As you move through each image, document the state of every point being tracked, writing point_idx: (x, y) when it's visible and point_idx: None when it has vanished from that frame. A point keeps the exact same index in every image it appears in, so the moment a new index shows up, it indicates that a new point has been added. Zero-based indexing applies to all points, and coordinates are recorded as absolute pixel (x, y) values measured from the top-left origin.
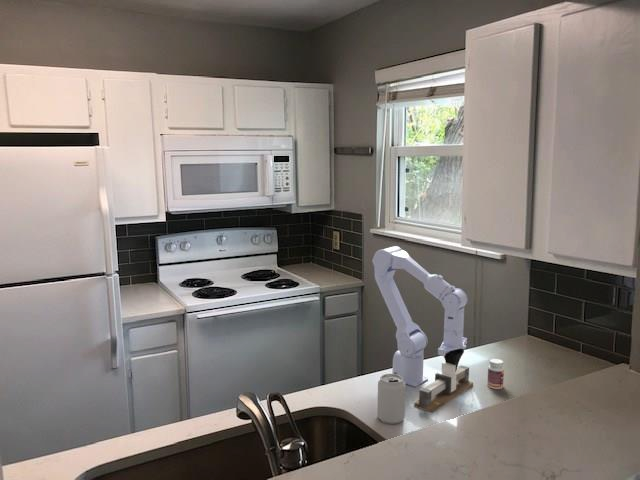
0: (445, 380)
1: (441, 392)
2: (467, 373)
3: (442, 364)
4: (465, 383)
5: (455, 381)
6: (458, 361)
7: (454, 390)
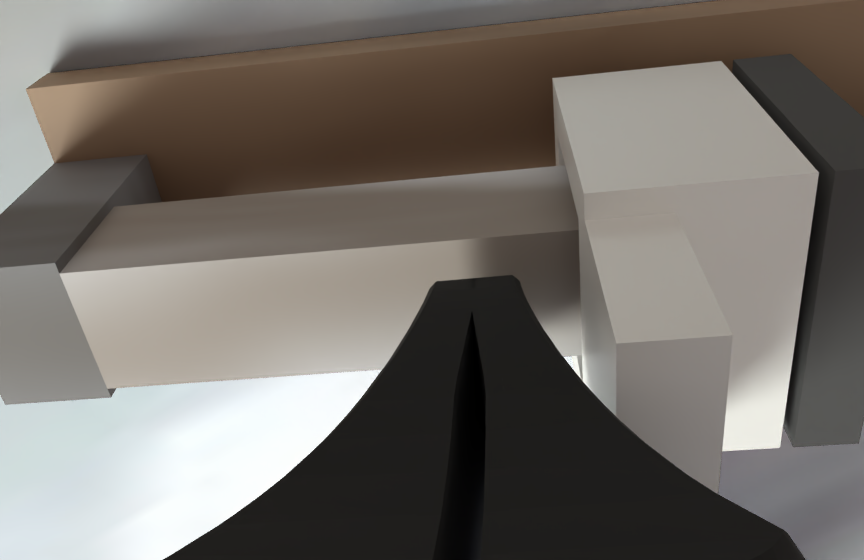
0: None
1: None
2: (41, 220)
3: None
4: (172, 138)
5: (596, 130)
6: (400, 406)
7: (517, 105)
